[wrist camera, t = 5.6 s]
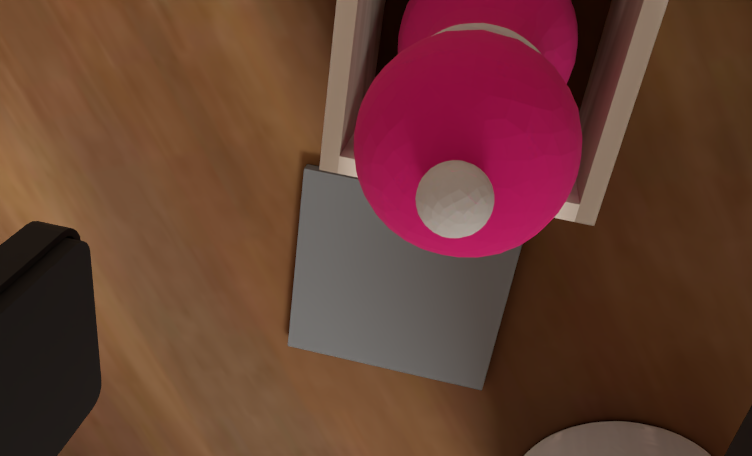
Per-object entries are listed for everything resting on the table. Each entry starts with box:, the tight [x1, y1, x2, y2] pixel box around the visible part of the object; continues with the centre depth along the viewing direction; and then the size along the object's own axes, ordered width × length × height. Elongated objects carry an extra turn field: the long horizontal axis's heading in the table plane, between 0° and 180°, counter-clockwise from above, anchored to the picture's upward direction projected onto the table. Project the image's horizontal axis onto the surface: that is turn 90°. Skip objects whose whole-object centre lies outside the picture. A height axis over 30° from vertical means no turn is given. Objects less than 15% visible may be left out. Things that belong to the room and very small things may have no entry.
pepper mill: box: [354, 0, 582, 258], centre depth 24 cm, size 7×7×20 cm
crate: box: [319, 0, 669, 226], centre depth 29 cm, size 12×12×7 cm
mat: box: [288, 164, 522, 390], centre depth 40 cm, size 12×12×1 cm
